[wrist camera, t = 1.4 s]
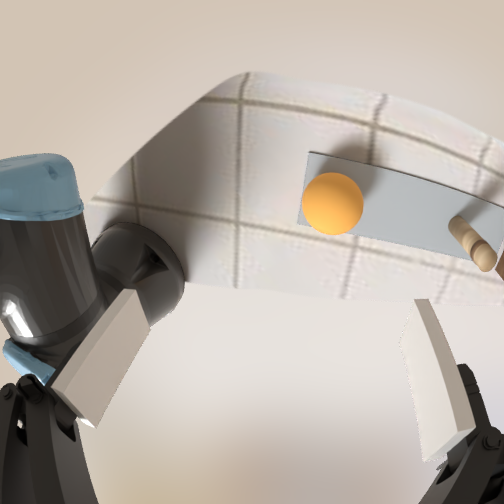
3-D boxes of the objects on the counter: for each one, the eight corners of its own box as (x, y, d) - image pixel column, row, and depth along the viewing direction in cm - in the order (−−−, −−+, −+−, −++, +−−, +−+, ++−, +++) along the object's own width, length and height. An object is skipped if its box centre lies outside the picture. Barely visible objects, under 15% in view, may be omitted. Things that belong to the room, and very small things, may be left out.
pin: (444, 231, 28) (474, 270, 20) (450, 212, 26) (485, 247, 19) (459, 235, 27) (491, 274, 20) (466, 217, 26) (501, 252, 19)
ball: (298, 215, 31) (295, 239, 25) (307, 161, 28) (306, 175, 22) (351, 225, 30) (359, 251, 25) (363, 173, 27) (375, 189, 22)
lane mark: (297, 223, 31) (297, 224, 31) (308, 152, 27) (308, 152, 27) (491, 265, 28) (491, 265, 28) (512, 212, 24) (513, 212, 23)
